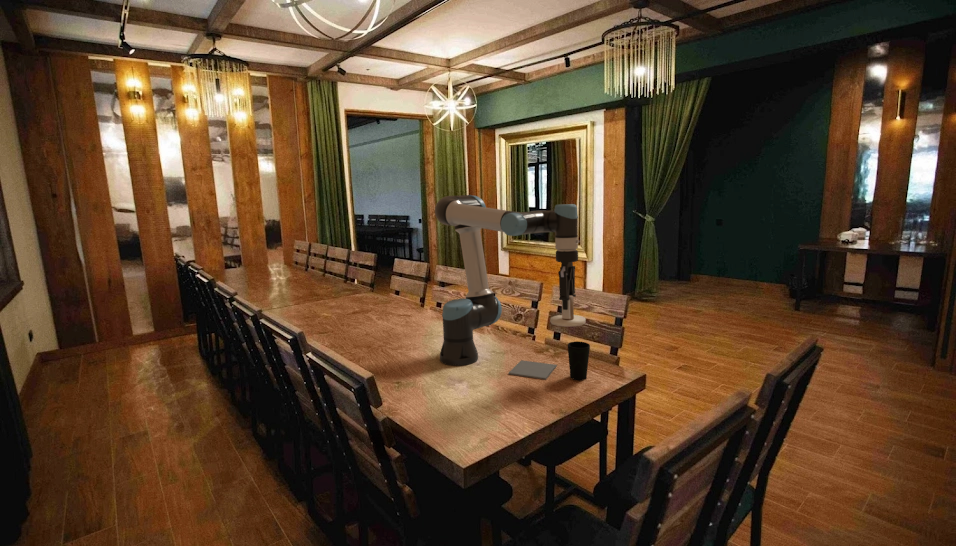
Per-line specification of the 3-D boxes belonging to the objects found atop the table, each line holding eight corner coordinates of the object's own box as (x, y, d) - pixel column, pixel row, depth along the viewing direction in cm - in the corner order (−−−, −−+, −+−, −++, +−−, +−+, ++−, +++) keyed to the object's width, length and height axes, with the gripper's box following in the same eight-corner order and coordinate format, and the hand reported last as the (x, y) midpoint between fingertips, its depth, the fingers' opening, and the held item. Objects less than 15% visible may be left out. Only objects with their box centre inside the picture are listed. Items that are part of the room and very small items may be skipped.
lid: (546, 325, 164) (545, 298, 163) (556, 317, 175) (555, 292, 174) (581, 327, 159) (580, 300, 158) (589, 319, 170) (588, 293, 169)
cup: (589, 382, 164) (590, 348, 163) (567, 381, 166) (567, 347, 164) (589, 374, 172) (589, 341, 170) (567, 372, 173) (567, 341, 171)
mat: (508, 374, 173) (508, 372, 173) (521, 361, 186) (521, 360, 186) (546, 379, 168) (546, 378, 168) (556, 366, 180) (556, 364, 180)
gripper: (571, 252, 154) (572, 323, 158) (583, 247, 169) (584, 312, 173) (548, 252, 157) (550, 322, 161) (562, 247, 173) (563, 310, 176)
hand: (567, 316), depth 167 cm, fingers closed on lid, 4 cm apart
